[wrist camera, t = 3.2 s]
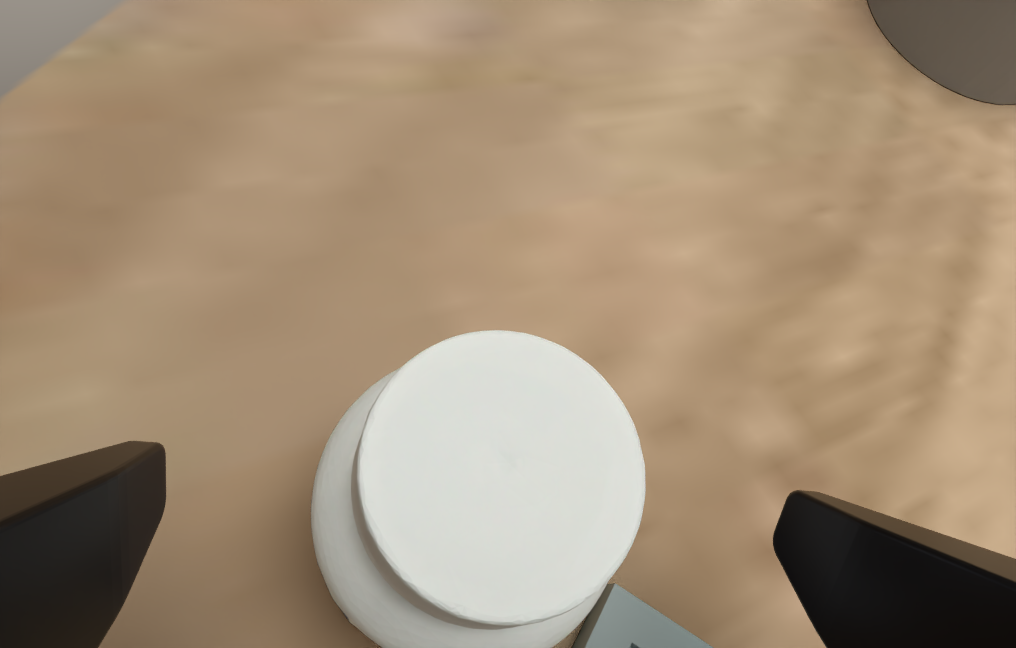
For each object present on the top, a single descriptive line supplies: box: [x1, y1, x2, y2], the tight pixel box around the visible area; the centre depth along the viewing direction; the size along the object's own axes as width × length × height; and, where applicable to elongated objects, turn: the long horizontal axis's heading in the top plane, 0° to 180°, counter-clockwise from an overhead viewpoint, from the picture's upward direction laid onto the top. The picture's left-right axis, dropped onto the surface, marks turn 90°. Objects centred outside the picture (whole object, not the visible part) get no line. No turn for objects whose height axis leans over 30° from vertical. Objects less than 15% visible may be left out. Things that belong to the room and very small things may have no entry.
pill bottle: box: [311, 330, 646, 648], centre depth 13 cm, size 5×5×10 cm
